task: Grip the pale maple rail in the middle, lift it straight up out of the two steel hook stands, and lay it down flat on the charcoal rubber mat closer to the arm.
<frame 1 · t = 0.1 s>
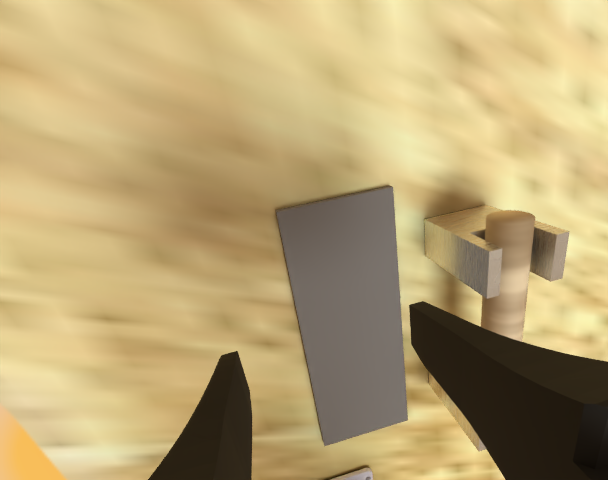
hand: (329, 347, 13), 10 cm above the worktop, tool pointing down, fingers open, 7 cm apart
rail: (500, 340, 22), point 5 cm above the worktop, touching hook stands
mat: (351, 331, 25), on the worktop
hook stands: (454, 303, 26), on the worktop
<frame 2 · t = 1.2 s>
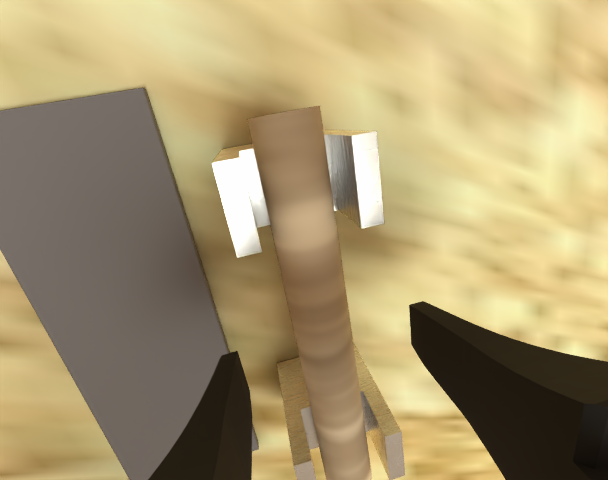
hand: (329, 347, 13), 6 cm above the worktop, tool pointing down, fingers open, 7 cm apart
rail: (323, 336, 14), point 5 cm above the worktop, touching hook stands
mat: (140, 323, 17), on the worktop
hook stands: (301, 283, 18), on the worktop
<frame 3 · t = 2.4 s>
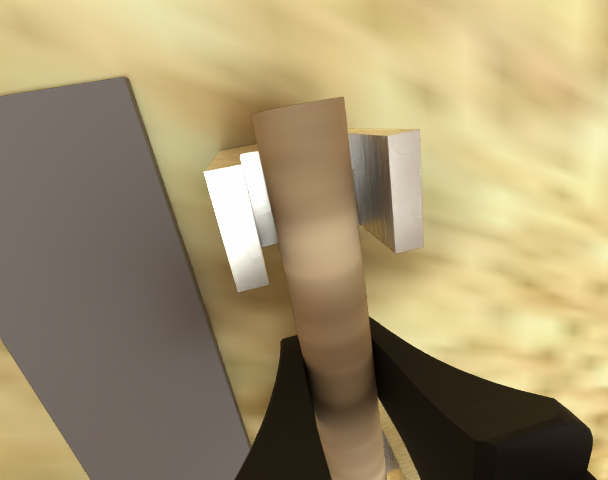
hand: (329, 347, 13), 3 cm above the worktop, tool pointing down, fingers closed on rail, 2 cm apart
rail: (341, 375, 11), point 5 cm above the worktop, touching gripper, hook stands
mat: (126, 350, 15), on the worktop
hook stands: (311, 303, 16), on the worktop
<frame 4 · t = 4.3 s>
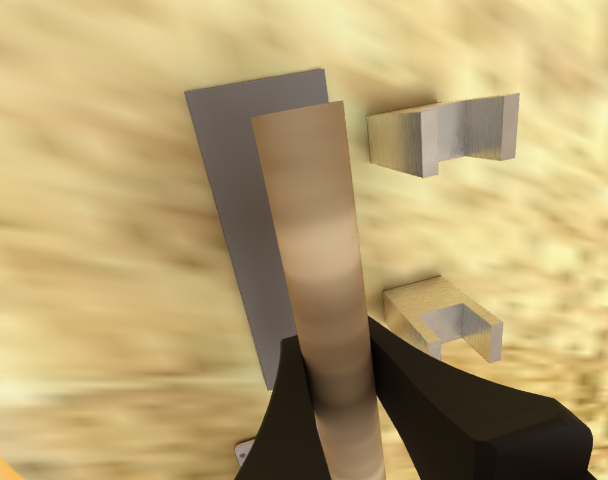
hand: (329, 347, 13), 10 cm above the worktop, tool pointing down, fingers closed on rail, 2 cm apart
rail: (340, 374, 12), point 12 cm above the worktop, touching gripper
mat: (290, 252, 22), on the worktop
hook stands: (409, 224, 23), on the worktop
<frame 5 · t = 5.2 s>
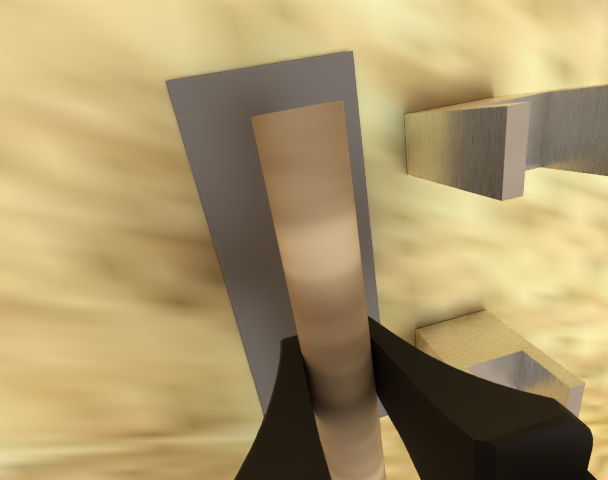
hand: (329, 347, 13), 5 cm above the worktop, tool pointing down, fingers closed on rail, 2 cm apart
rail: (340, 374, 12), point 7 cm above the worktop, touching gripper
mat: (304, 286, 18), on the worktop
hook stands: (450, 249, 19), on the worktop
when the fingers open (2 cm above the worktop, at t = 6.2 s): rail drops 1 cm, resting on mat.
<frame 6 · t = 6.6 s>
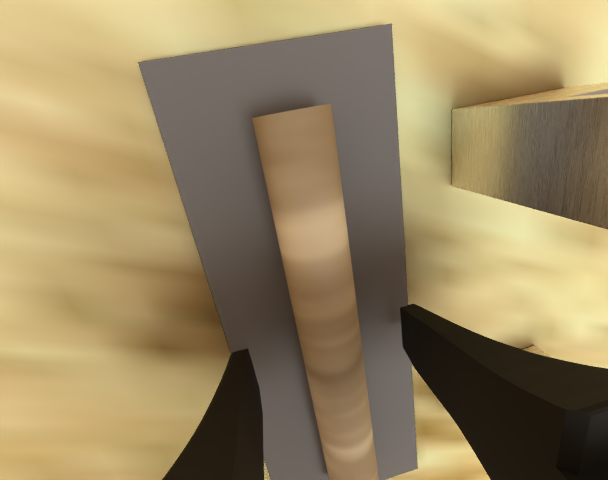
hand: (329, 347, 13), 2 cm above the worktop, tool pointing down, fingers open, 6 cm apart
rail: (332, 349, 13), point 2 cm above the worktop, touching mat
mat: (320, 324, 14), on the worktop
hook stands: (499, 276, 15), on the worktop
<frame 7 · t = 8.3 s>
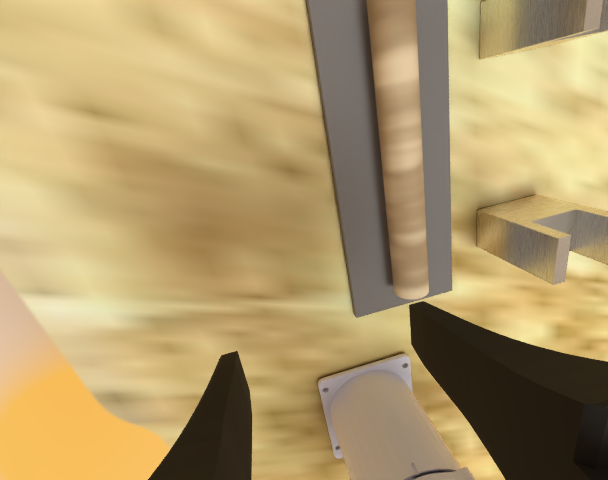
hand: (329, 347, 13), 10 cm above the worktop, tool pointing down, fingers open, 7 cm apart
rail: (402, 165, 20), point 2 cm above the worktop, touching mat
mat: (390, 161, 21), on the worktop
hook stands: (510, 133, 22), on the worktop
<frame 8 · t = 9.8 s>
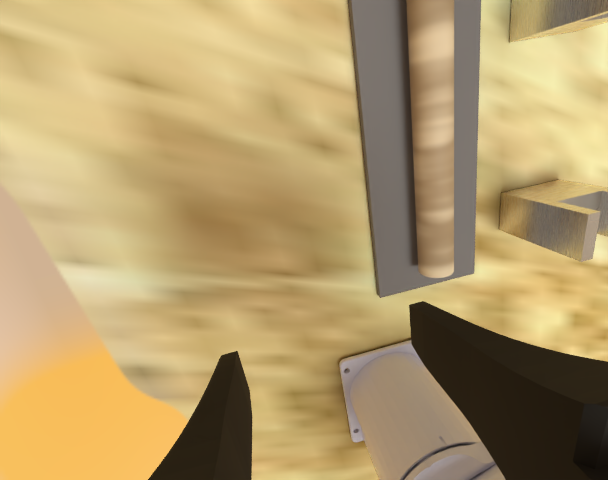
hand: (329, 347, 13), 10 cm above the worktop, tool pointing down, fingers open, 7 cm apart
rail: (432, 143, 20), point 2 cm above the worktop, touching mat
mat: (419, 140, 22), on the worktop
hook stands: (536, 117, 23), on the worktop
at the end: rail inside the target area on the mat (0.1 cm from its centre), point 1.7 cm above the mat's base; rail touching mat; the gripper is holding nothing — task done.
